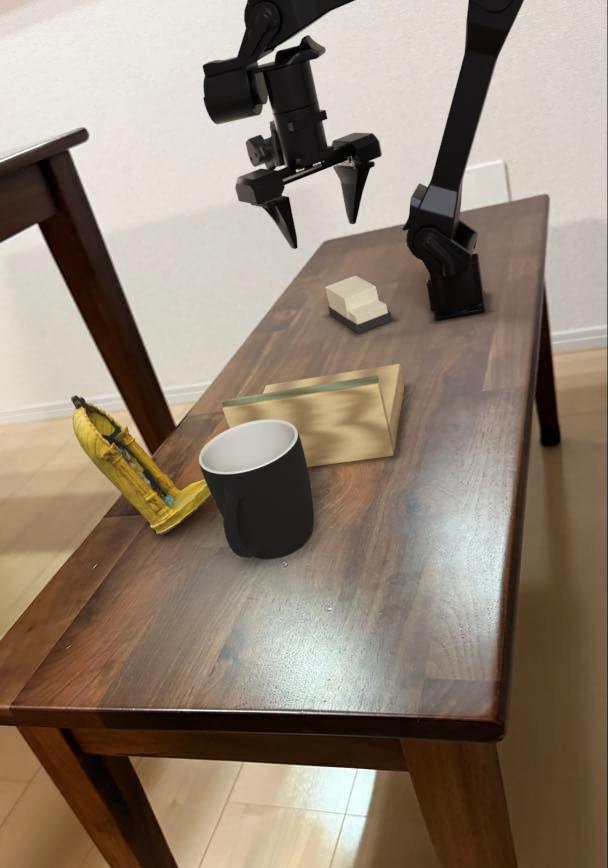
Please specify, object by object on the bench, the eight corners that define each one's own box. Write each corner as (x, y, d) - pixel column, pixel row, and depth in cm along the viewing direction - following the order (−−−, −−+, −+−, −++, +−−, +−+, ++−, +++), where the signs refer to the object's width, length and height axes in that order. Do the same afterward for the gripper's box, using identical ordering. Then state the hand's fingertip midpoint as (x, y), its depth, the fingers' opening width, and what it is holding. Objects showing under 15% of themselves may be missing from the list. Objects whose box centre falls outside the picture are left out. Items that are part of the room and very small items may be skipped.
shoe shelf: (404, 387, 97) (390, 316, 92) (393, 456, 85) (376, 379, 80) (272, 407, 101) (252, 341, 96) (245, 475, 89) (220, 403, 84)
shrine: (106, 552, 84) (43, 420, 75) (138, 505, 90) (83, 378, 81) (210, 546, 80) (155, 406, 71) (236, 497, 86) (188, 363, 78)
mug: (252, 511, 83) (221, 421, 77) (337, 509, 79) (311, 415, 74) (204, 591, 74) (165, 496, 68) (298, 592, 71) (265, 492, 65)
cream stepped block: (362, 302, 122) (356, 274, 120) (392, 320, 114) (386, 290, 111) (330, 314, 122) (323, 287, 119) (357, 334, 113) (351, 304, 111)
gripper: (324, 85, 111) (349, 206, 119) (200, 130, 105) (236, 253, 114) (372, 83, 102) (394, 213, 111) (240, 131, 96) (274, 264, 105)
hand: (323, 235), depth 110 cm, fingers open, 9 cm apart
